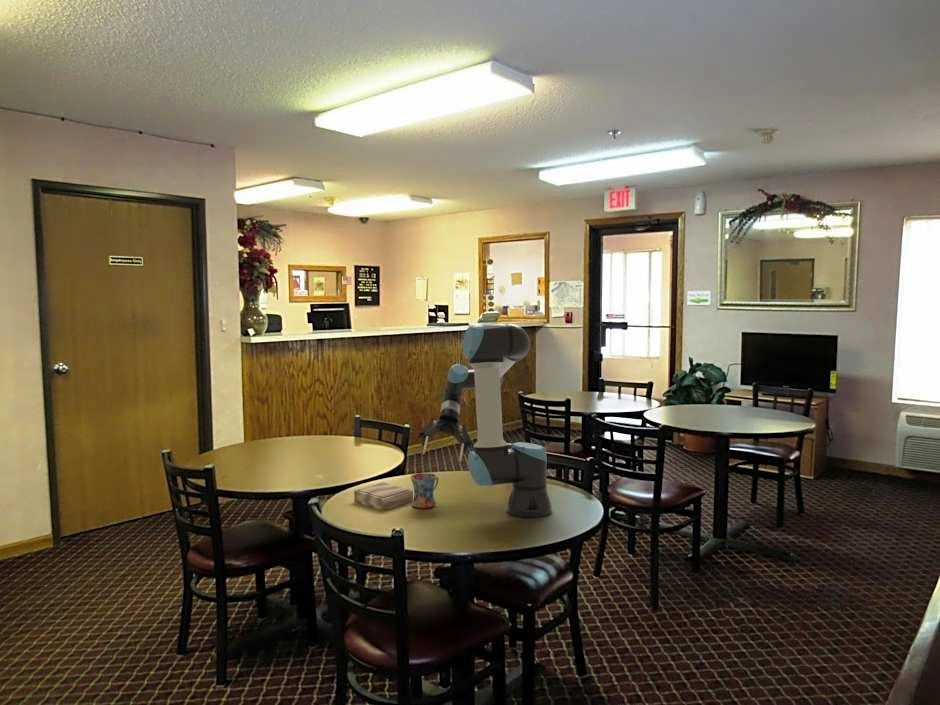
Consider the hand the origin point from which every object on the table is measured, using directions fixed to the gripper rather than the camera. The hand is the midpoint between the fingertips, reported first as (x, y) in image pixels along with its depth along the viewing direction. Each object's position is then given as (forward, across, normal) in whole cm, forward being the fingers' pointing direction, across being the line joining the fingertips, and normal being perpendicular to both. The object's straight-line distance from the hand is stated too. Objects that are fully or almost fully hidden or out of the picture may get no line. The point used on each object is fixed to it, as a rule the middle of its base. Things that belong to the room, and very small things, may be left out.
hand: (442, 455), depth 235 cm
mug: (+16, +2, -10) cm, 19 cm away
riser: (+13, +18, -15) cm, 27 cm away
